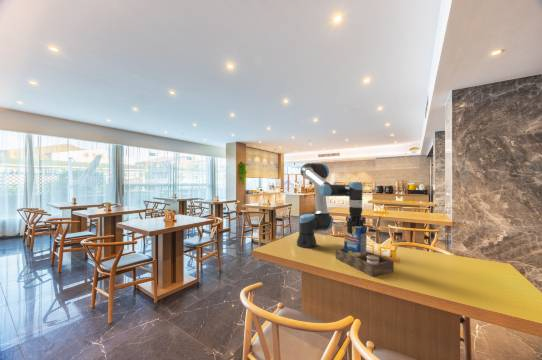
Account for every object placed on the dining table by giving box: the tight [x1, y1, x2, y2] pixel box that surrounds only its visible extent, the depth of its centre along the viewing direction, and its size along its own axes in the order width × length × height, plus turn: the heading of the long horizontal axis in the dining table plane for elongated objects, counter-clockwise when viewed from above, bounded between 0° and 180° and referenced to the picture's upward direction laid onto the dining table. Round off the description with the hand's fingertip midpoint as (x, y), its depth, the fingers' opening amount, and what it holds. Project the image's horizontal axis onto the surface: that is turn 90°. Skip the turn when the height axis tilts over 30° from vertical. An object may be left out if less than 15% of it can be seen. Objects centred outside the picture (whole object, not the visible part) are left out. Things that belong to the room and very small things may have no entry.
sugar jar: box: [366, 255, 379, 264], centre depth 123 cm, size 7×7×7 cm
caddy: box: [335, 247, 395, 278], centre depth 129 cm, size 28×16×6 cm, turn 24°
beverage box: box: [343, 224, 368, 257], centre depth 135 cm, size 7×11×22 cm, turn 38°
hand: (355, 244), depth 135 cm, fingers open, 3 cm apart
